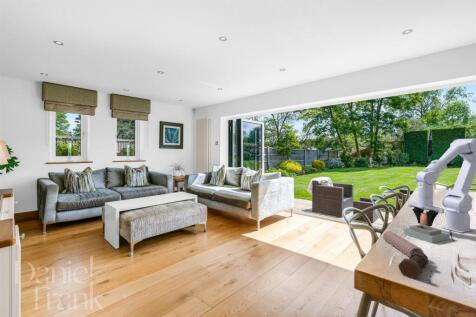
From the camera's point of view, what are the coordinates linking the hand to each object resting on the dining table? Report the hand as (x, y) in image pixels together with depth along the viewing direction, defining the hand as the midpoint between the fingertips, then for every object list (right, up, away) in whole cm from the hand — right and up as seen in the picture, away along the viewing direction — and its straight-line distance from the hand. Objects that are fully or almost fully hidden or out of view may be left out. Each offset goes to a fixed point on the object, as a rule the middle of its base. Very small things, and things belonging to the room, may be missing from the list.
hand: (424, 224), depth 111 cm
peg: (0, -2, 0) cm, 2 cm away
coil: (-27, -4, -22) cm, 35 cm away
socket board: (-6, -3, -9) cm, 11 cm away
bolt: (-33, -4, -37) cm, 49 cm away
